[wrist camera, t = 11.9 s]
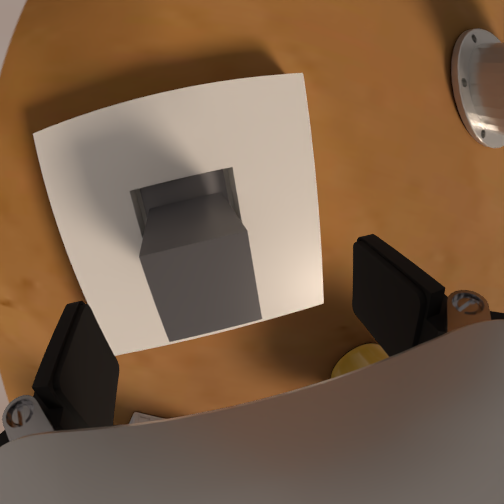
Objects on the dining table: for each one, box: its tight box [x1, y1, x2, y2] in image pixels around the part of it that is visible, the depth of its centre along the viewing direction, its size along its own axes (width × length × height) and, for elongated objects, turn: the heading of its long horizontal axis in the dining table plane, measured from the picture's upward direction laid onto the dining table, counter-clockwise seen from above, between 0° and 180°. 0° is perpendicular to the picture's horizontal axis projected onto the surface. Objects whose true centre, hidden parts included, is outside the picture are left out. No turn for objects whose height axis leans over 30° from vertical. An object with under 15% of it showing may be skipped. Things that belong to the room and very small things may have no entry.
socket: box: [33, 73, 324, 356], centre depth 19 cm, size 16×16×3 cm
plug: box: [139, 192, 262, 342], centre depth 17 cm, size 4×4×8 cm
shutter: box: [140, 169, 229, 217], centre depth 20 cm, size 5×5×1 cm
